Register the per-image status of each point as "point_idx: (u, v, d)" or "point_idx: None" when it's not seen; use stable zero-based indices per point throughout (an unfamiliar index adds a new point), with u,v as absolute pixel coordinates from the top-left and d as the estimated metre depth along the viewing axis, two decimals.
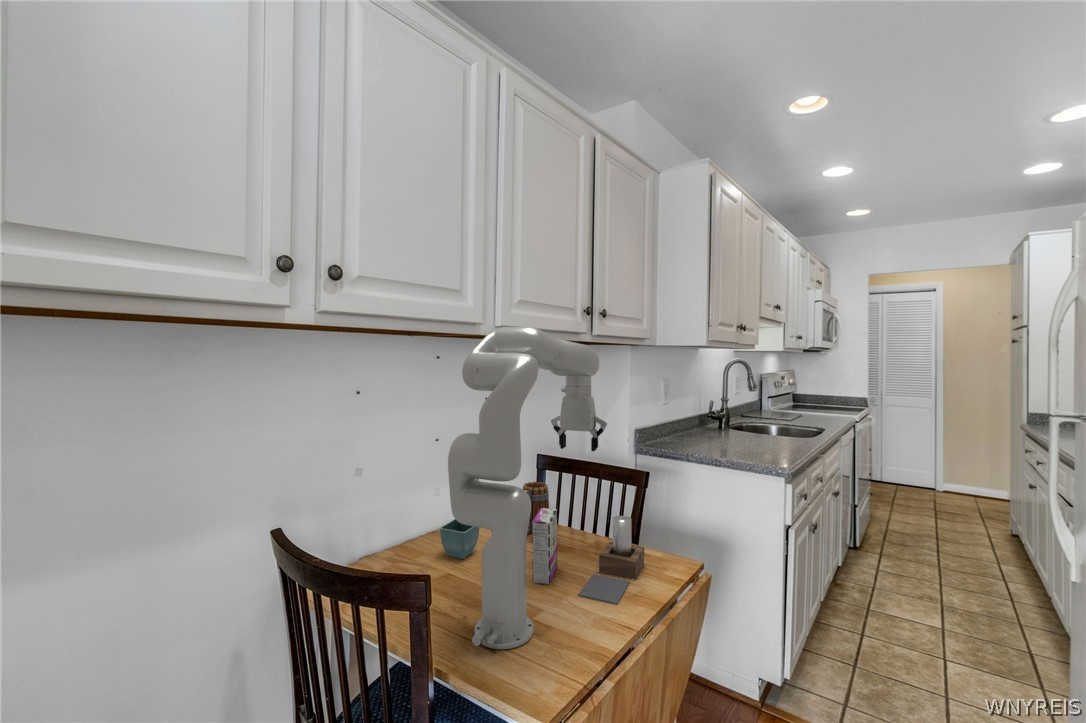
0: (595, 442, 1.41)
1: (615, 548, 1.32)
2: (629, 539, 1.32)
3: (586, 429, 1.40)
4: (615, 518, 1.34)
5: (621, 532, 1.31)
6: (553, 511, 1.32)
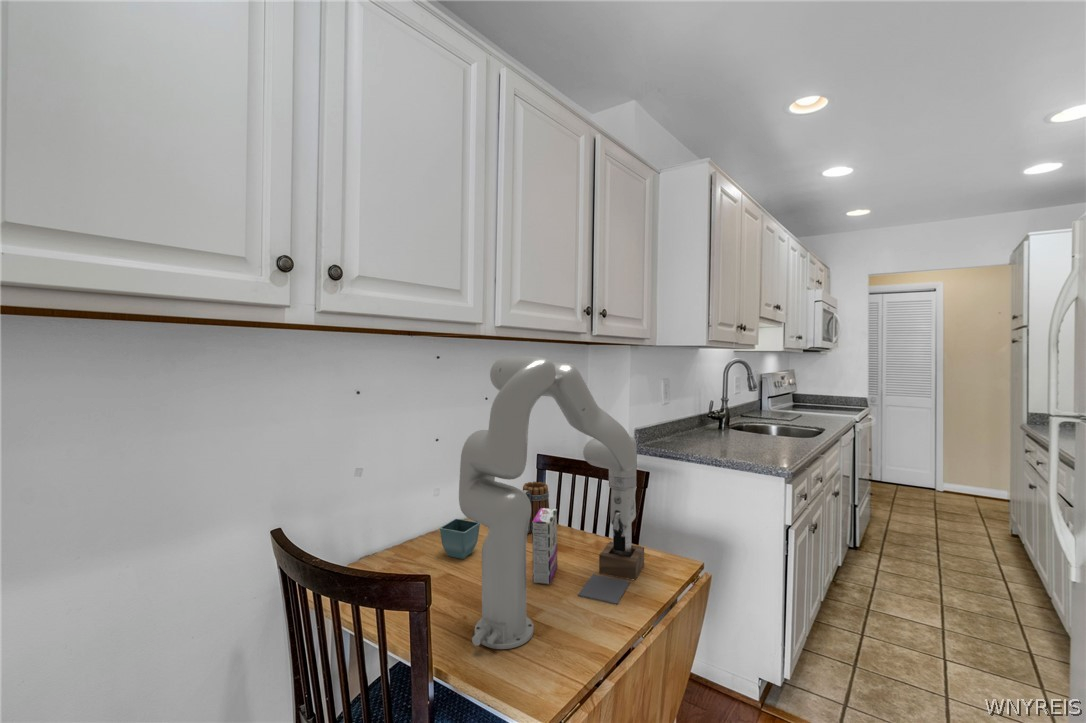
0: None
1: None
2: (629, 539, 1.32)
3: (635, 516, 1.35)
4: None
5: None
6: (553, 511, 1.32)
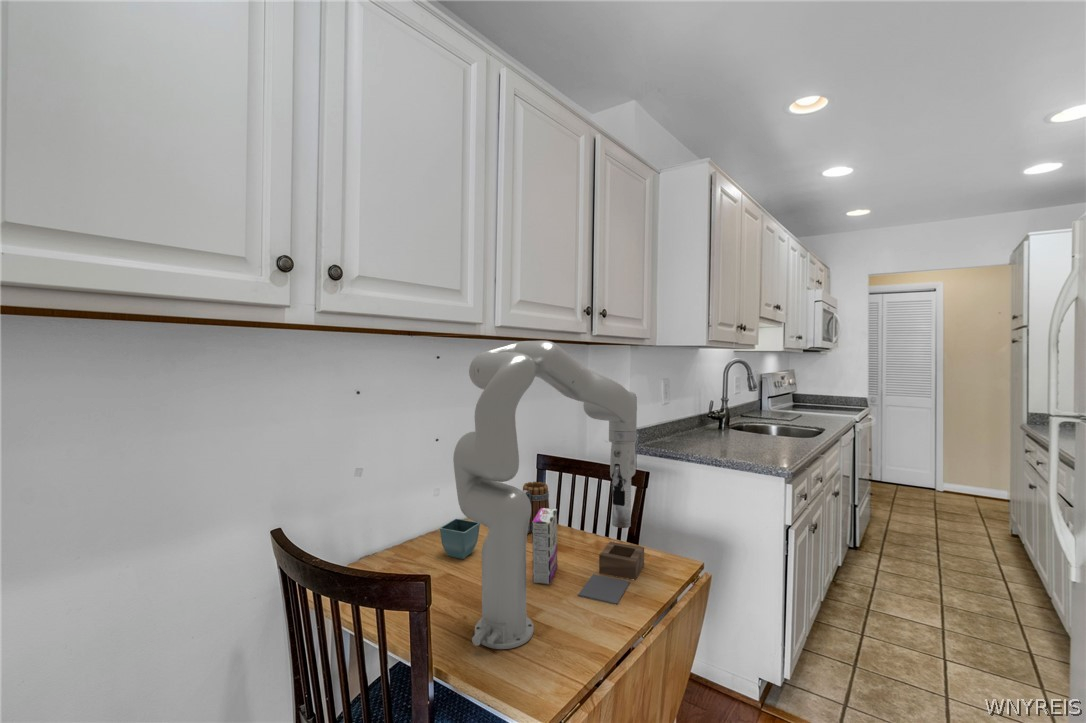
0: None
1: None
2: (629, 494, 1.31)
3: (634, 472, 1.35)
4: None
5: None
6: (553, 511, 1.32)
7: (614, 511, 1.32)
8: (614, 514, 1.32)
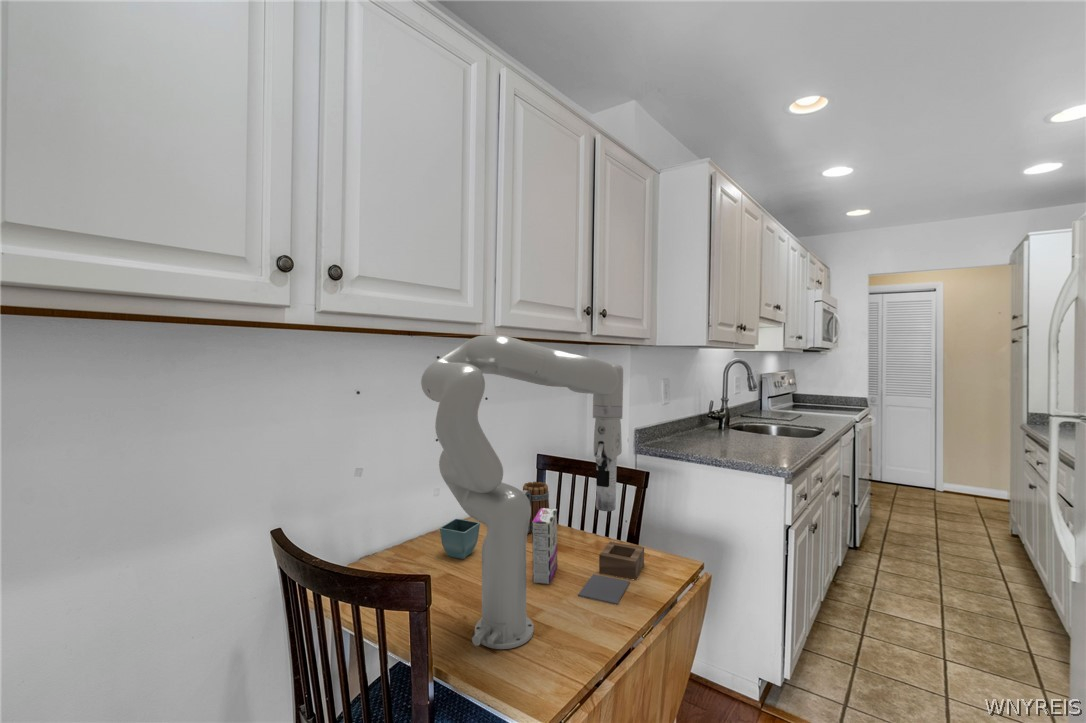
0: None
1: None
2: (614, 474, 1.21)
3: (620, 452, 1.25)
4: None
5: None
6: (553, 511, 1.32)
7: (598, 493, 1.21)
8: (598, 496, 1.21)
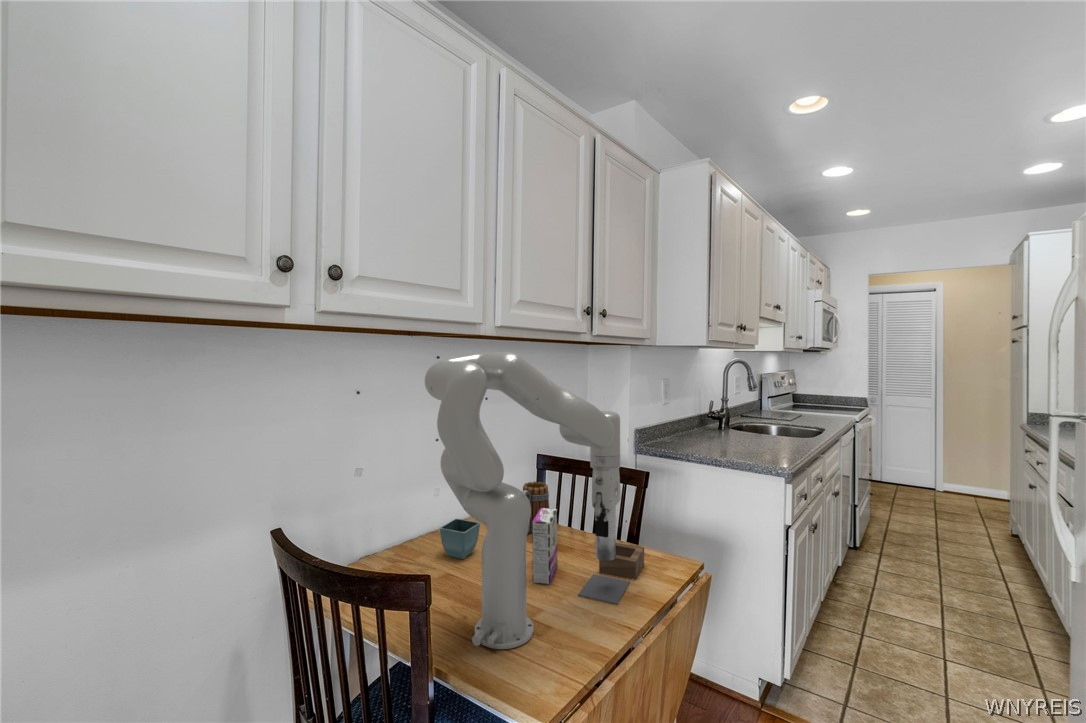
0: None
1: None
2: (613, 524, 1.20)
3: (619, 499, 1.24)
4: None
5: None
6: (553, 511, 1.32)
7: (597, 542, 1.21)
8: (597, 545, 1.21)
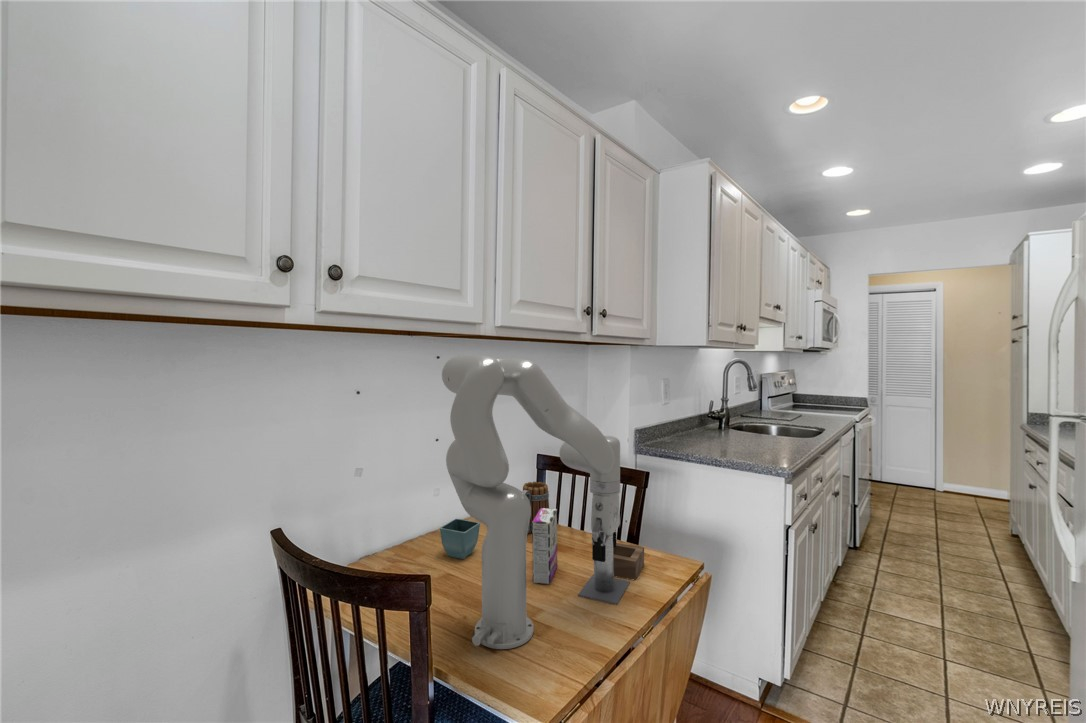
0: None
1: (596, 565, 1.21)
2: (610, 555, 1.20)
3: (619, 524, 1.24)
4: None
5: None
6: (553, 511, 1.32)
7: (596, 574, 1.21)
8: (596, 577, 1.21)
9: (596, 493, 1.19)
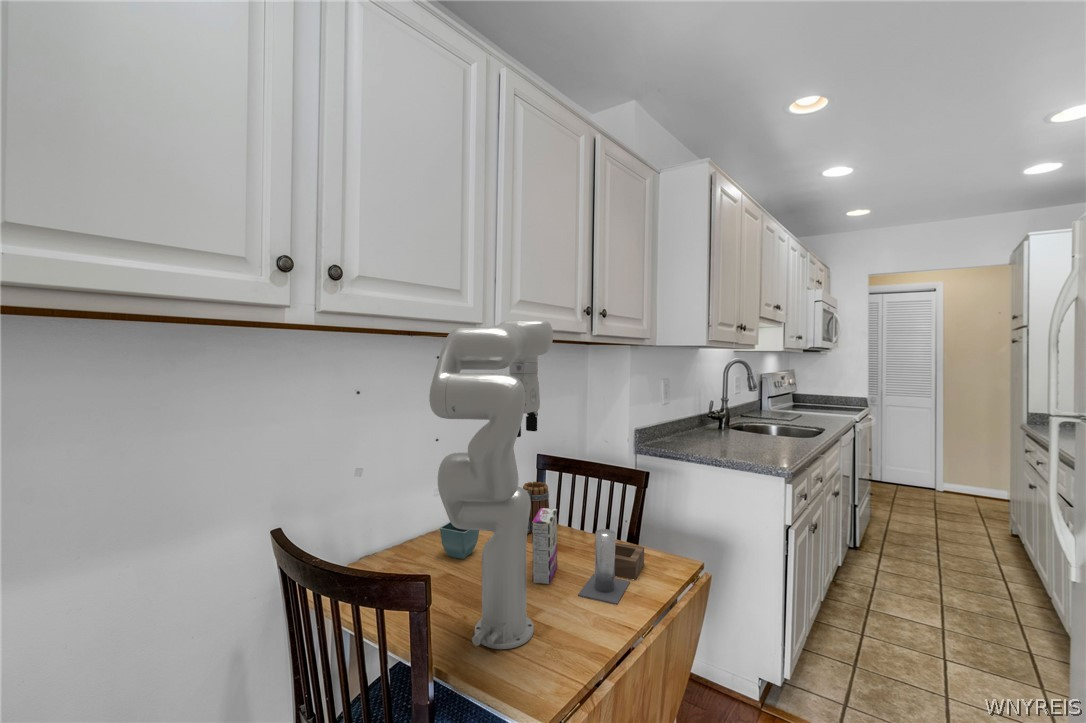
0: None
1: (597, 565, 1.21)
2: (612, 555, 1.20)
3: (538, 407, 1.31)
4: (598, 532, 1.22)
5: (604, 547, 1.20)
6: (553, 511, 1.32)
7: (597, 573, 1.21)
8: (596, 577, 1.21)
9: (513, 374, 1.26)
